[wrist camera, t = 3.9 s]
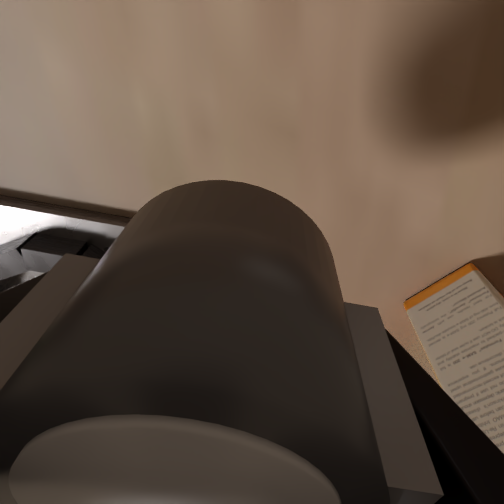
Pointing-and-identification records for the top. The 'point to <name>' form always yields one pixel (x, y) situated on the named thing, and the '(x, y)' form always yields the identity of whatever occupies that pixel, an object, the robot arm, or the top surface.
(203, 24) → the top surface
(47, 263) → the barrel plate
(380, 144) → the top surface
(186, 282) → the domed button housing
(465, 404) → the supplement box
